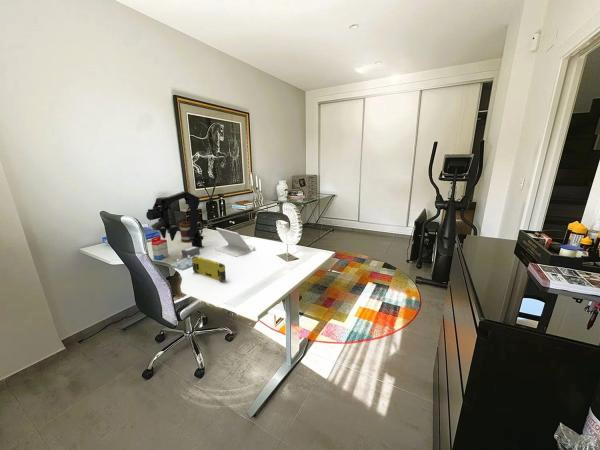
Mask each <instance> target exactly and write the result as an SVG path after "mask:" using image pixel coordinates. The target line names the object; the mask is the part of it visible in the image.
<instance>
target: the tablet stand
mask: <svg viewBox="0 0 600 450" xmlns="http://www.w3.org/2000/svg"><path fill="white" fill-rule="evenodd" d="M215 229H216V231H218V233H219V234H220V235H221V236H222V238H223V239H224V240H225V241H226V242H227V244H226V245H223V246H220V247H217V248H215V251H218V252H221V253H224V254H226V255H229V256H232V257H235V258H238V257H241V256H244V255H247V254H248V253H252V252H254V250H255V249H256V247H255V246H254V245H250V244H248V243H247V242H246V241H245V240H244V238H243V237H242V236H241V235H240V233H238V232H235V231H231V230H228V229H223V228H220V227H216V228H215ZM246 253H247V254H246Z"/></svg>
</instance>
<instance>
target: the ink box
mask: <svg viewBox="0 0 600 450" xmlns="http://www.w3.org/2000/svg"><path fill="white" fill-rule="evenodd" d="M161 237H162V235H157V236H155V237H151V239H150V240H151V241H150V242H151V248H152V256H153V260H157V261H160V260H162V259H165V258H166V257H169V256H170V255H169V249H168V241H167V239H165V238H161Z"/></svg>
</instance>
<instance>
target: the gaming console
mask: <svg viewBox="0 0 600 450" xmlns="http://www.w3.org/2000/svg"><path fill="white" fill-rule="evenodd" d="M195 256H196V255H195ZM195 256H192V257H193V258H192V257H191V258H192V265H193V266H192V270H193V272H194V273H196V274H200V275H203V276H206V277H209V278H212V279H214V280H217V281H220V282H224V281H225V280H226V279H227V278H226V277H227V276H226V265H225V264H224V263H221V262H218V261H214V260H211V259H208V258H205V257H201V256H199V255H198V256H196V257H195Z"/></svg>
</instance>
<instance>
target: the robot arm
mask: <svg viewBox="0 0 600 450" xmlns="http://www.w3.org/2000/svg"><path fill="white" fill-rule="evenodd" d="M182 199H184V201H186V203H187V206H188V207H189V221H190V229H189V230H187V235H188V237H189V238H190V240H192V242H191V247H193V246H195V247H199V249H201V248H204V247H205V246H204V245H203V240H204V236H203V234H201V235H200V233H201V230H200V229H199V227H198V225H197V222H198V208H199V206H200V201H201V200H200V198H199V196H197V195H194V194H192V193H190V192H189V191H181V192H178V193H176V194H172V195H169V196H161V197H157V198H156V199H155V201H154V204H153V206H152V208H149V209H147V211H146V214H145V216H146V218H147V220H149V221H154V220H157V221H156V222H155V223H153V224H151V228H152V229H153V231H156V232H157V231H158V232H159V233H160V236H161V237H162V239H166V237H167V233H168V234H169V237H170V239H171V240H170V241H174V240H175V237H176V234H177V232H178V231H180V226H178V225H173V223H172V222H171V220H172V217H171V216H170V210H172V207H171V205H172V204H173V203H174V202H176V201H180V200H182Z"/></svg>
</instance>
